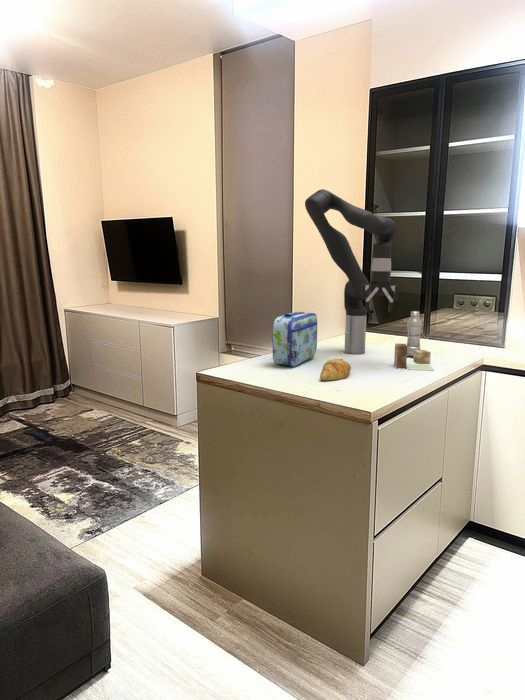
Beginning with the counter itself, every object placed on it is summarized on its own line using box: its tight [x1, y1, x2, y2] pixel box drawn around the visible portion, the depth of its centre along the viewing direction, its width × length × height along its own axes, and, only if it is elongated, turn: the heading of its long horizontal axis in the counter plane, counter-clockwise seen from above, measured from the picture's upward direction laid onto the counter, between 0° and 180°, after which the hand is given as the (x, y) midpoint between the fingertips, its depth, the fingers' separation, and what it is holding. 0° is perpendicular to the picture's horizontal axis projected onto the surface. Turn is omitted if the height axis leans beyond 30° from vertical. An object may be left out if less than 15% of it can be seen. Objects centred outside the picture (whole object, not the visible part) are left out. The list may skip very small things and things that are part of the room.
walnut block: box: [393, 343, 408, 370], centre depth 208 cm, size 4×6×9 cm, turn 172°
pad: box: [406, 363, 435, 372], centre depth 208 cm, size 10×10×1 cm
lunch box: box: [271, 311, 318, 368], centre depth 215 cm, size 26×11×21 cm, turn 150°
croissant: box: [319, 358, 352, 381], centre depth 192 cm, size 21×10×8 cm, turn 146°
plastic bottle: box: [406, 310, 423, 358], centre depth 228 cm, size 6×7×20 cm
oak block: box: [413, 349, 432, 365], centre depth 217 cm, size 5×5×5 cm
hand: (378, 311), depth 206 cm, fingers open, 8 cm apart
